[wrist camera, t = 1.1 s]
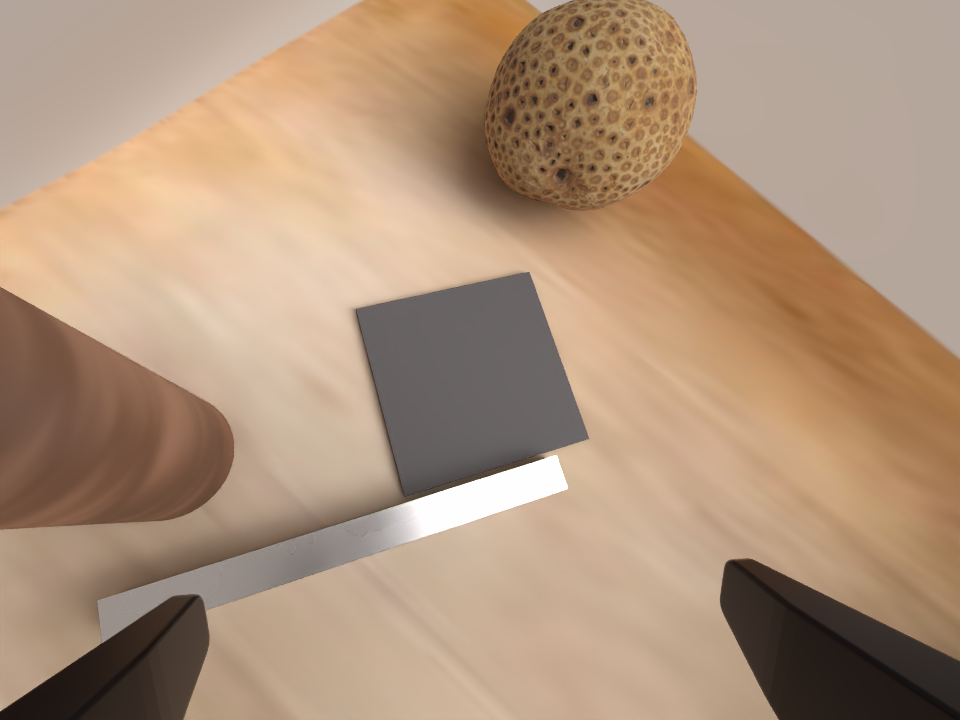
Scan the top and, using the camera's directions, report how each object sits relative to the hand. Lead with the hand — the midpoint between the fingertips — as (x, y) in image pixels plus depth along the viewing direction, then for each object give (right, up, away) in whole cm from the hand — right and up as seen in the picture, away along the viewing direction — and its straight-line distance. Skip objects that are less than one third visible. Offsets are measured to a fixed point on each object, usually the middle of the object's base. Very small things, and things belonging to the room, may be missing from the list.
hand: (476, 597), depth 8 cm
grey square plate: (0, +3, +15) cm, 15 cm away
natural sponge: (+4, +14, +19) cm, 24 cm away
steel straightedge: (-5, -3, +12) cm, 14 cm away
